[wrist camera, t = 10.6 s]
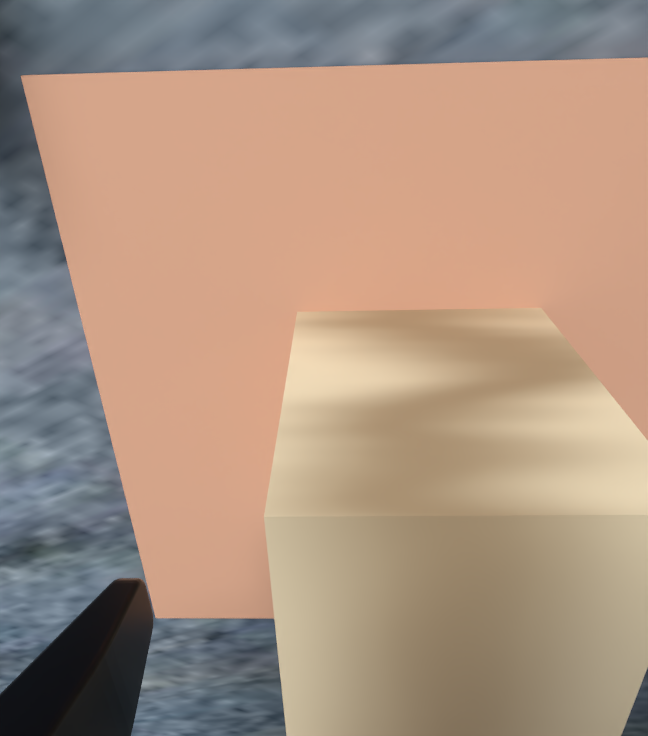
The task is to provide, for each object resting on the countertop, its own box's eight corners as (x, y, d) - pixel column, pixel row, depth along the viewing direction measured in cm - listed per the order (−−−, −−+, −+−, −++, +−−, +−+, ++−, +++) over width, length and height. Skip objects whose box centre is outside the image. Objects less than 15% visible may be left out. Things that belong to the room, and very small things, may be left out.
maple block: (541, 307, 12) (706, 514, 6) (509, 495, 14) (611, 758, 9) (296, 311, 12) (263, 516, 7) (307, 497, 14) (288, 756, 9)
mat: (837, 52, 10) (856, 52, 9) (641, 607, 16) (647, 619, 16) (31, 74, 10) (20, 75, 10) (159, 606, 17) (155, 617, 17)
